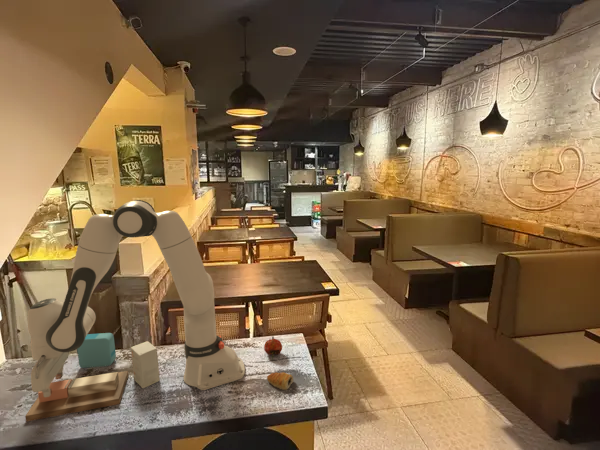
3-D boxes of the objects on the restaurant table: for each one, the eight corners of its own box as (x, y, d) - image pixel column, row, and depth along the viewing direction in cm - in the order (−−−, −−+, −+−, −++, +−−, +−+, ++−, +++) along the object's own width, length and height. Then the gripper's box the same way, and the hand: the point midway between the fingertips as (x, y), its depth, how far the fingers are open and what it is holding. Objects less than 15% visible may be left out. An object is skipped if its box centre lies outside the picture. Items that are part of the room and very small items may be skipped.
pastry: (263, 385, 121) (263, 375, 120) (272, 374, 127) (272, 365, 126) (286, 392, 117) (286, 382, 116) (295, 381, 123) (295, 371, 122)
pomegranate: (282, 363, 137) (285, 339, 144) (278, 356, 132) (281, 332, 139) (265, 363, 139) (268, 340, 145) (260, 356, 133) (263, 332, 140)
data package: (116, 359, 137) (113, 332, 135) (112, 366, 133) (108, 338, 131) (85, 361, 136) (81, 334, 134) (79, 368, 131) (75, 340, 129)
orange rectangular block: (73, 388, 116) (71, 378, 116) (67, 397, 112) (66, 387, 111) (46, 392, 114) (44, 383, 113) (39, 402, 109) (37, 392, 109)
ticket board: (128, 375, 127) (127, 362, 126) (119, 404, 111) (117, 388, 110) (47, 389, 119) (45, 374, 118) (26, 421, 104) (23, 405, 103)
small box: (160, 380, 123) (157, 348, 121) (142, 389, 119) (139, 355, 116) (150, 371, 129) (147, 340, 127) (133, 379, 124) (130, 347, 122)
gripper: (46, 364, 101) (52, 405, 103) (70, 332, 120) (75, 367, 123) (21, 367, 99) (27, 409, 101) (50, 334, 118) (54, 370, 121)
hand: (53, 386), depth 112 cm, fingers open, 8 cm apart
